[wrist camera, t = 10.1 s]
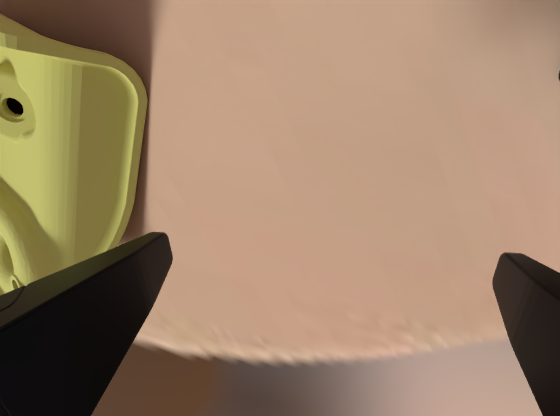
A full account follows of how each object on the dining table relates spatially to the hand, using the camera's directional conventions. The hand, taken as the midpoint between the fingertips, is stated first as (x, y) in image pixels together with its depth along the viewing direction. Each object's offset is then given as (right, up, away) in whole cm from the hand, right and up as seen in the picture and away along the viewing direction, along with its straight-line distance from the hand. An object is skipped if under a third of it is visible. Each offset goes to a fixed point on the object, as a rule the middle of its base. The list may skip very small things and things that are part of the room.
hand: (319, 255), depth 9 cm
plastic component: (-17, +4, +15) cm, 24 cm away
